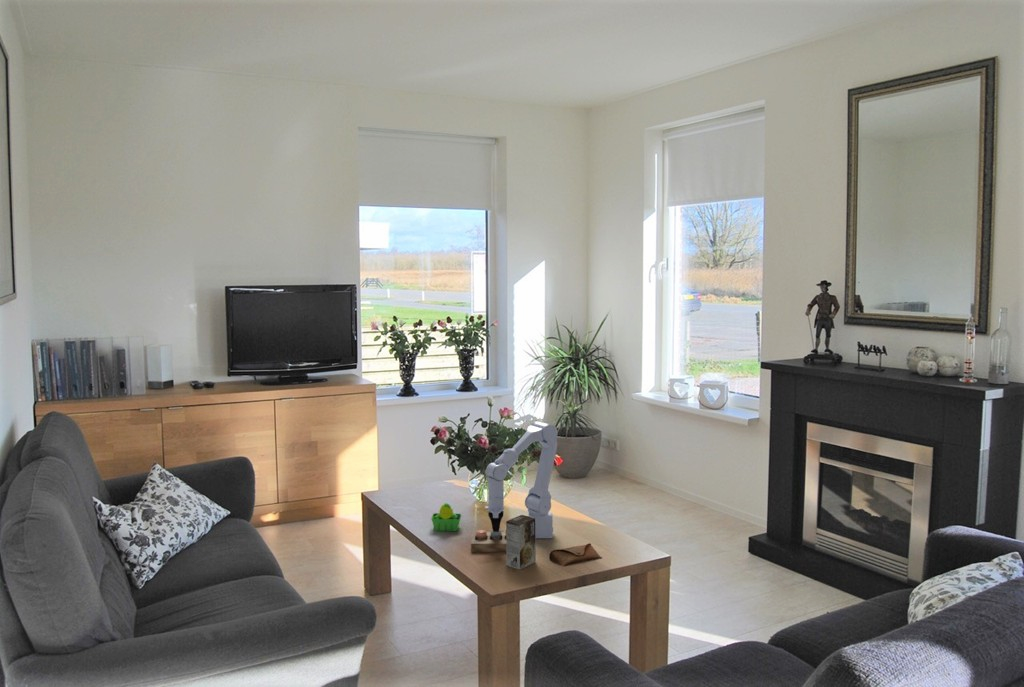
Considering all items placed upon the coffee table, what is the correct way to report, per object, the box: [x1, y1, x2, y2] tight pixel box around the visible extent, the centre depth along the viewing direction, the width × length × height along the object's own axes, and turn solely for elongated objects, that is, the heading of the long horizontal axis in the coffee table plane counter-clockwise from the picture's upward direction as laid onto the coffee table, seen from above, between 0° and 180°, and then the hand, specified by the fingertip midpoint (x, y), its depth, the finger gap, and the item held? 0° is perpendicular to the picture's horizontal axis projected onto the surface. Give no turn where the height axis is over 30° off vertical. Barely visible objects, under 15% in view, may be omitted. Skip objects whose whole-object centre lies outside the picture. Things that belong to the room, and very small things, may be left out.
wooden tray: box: [470, 531, 506, 553], centre depth 302 cm, size 18×13×3 cm
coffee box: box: [505, 514, 537, 570], centre depth 282 cm, size 9×6×16 cm
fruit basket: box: [430, 502, 462, 532], centre depth 320 cm, size 11×9×11 cm
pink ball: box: [475, 529, 488, 540], centre depth 302 cm, size 4×4×4 cm
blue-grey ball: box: [490, 529, 502, 540], centre depth 302 cm, size 4×4×4 cm
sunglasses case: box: [548, 543, 603, 567], centre depth 288 cm, size 18×7×7 cm, turn 120°
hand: (496, 531), depth 301 cm, fingers closed, pressing on blue-grey ball
